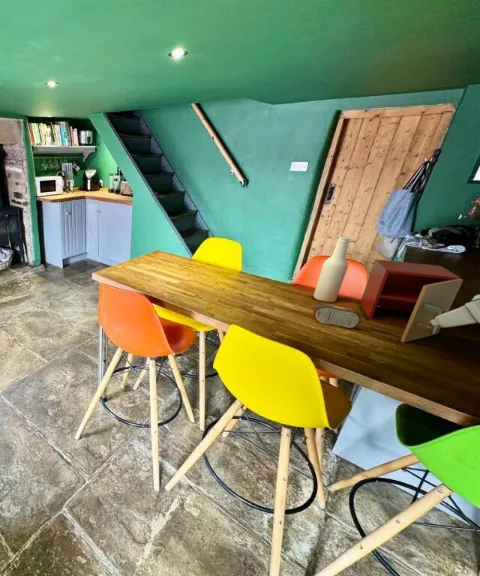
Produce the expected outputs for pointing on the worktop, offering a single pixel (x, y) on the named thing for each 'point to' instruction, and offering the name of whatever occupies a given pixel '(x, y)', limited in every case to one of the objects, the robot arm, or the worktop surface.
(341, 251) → the alcohol
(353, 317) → the tin
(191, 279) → the worktop surface
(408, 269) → the red cabinet
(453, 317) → the robot arm
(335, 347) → the worktop surface
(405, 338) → the door
